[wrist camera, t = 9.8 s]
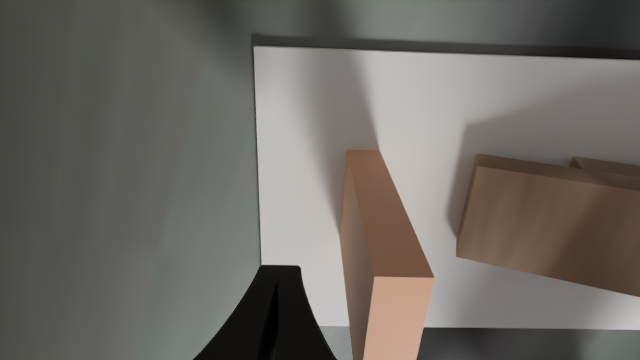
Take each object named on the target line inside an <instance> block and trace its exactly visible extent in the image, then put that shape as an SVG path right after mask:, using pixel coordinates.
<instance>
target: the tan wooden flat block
mask: <svg viewBox="0 0 640 360" xmlns="http://www.w3.org/2000/svg"><path fill="white" fill-rule="evenodd" d="M339 238H340V247H341V256H342V265H343V273H344V282H345V291H346V300H347V309H348V317H349V326H350V335H351V344H352V353H353V360H416V358H417V354H418V350H419V345H420V341H421V336H422V332H423V327H424V323H425V319H426V314H427V310H428V305H429V301H430V296H431V292H432V288H433V283H434V279H435V277H434V275H433V273H432V270H431V268H430V266H429V264H428V261H427V259H426V257H425V254H424V252H423V250H422V247H421V245H420V243H419V240H418V238H417V236H416V233H415V231H414V229H413V226H412V224H411V222H410V219H409V217H408V215H407V212H406V210H405V208H404V206H403V203H402V201H401V199H400V196H399V194H398V192H397V189H396V187H395V185H394V182H393V180H392V178H391V175H390V173H389V171H388V168H387V166H386V164H385V161H384V159H383V157H382V154H381V152H380V151H377V150H347V149H346V160H345V173H344V185H343V198H342V210H341V223H340V235H339Z"/></svg>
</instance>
